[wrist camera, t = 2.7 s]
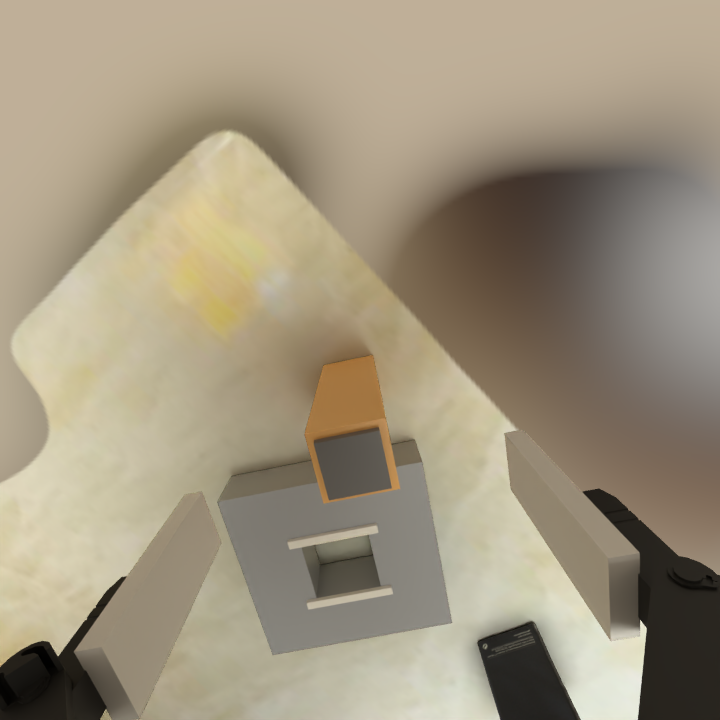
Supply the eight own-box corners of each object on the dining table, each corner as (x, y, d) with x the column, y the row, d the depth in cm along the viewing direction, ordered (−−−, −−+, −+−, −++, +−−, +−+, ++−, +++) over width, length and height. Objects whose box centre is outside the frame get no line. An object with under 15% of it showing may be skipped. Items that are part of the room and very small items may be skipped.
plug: (334, 410, 31) (322, 508, 19) (323, 365, 30) (303, 437, 18) (382, 401, 31) (401, 493, 19) (372, 354, 30) (386, 421, 18)
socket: (280, 618, 36) (272, 658, 33) (231, 476, 32) (215, 504, 28) (442, 588, 36) (452, 626, 32) (414, 439, 32) (422, 463, 28)
